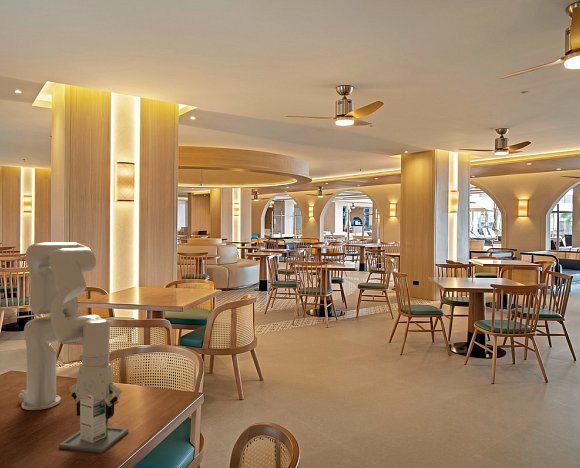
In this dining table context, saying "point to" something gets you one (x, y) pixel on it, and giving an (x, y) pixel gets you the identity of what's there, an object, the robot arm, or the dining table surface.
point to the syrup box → (93, 419)
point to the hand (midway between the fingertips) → (95, 415)
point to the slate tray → (96, 447)
